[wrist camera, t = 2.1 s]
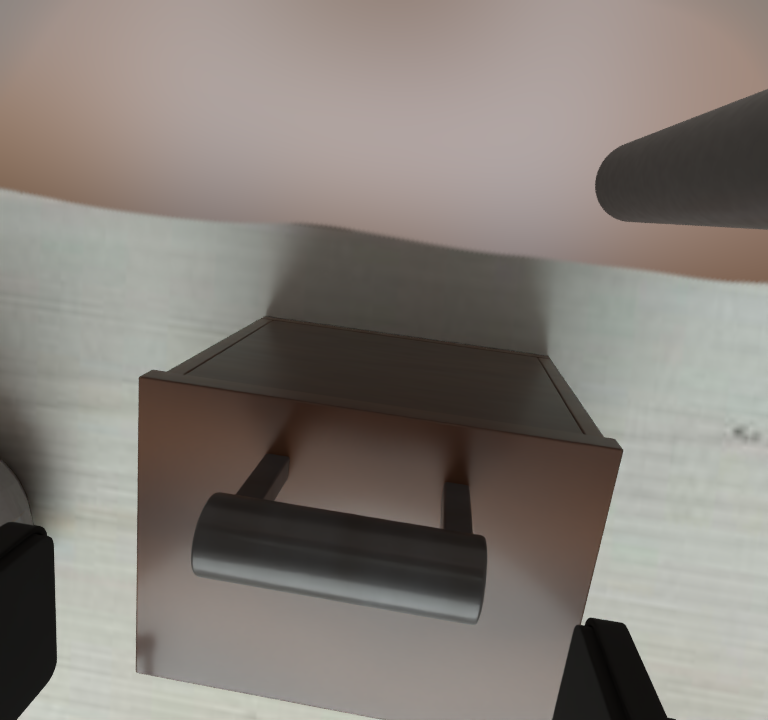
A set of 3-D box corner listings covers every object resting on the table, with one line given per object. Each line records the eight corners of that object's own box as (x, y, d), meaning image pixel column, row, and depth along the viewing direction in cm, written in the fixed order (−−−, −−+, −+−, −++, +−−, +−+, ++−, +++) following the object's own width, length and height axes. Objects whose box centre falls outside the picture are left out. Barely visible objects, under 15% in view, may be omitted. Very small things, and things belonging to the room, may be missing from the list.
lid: (152, 368, 17) (19, 439, 12) (615, 438, 16) (697, 548, 11) (147, 655, 19) (36, 817, 14) (546, 730, 18) (584, 933, 13)
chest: (264, 315, 27) (152, 378, 17) (548, 355, 26) (612, 447, 16) (251, 501, 30) (148, 654, 19) (511, 544, 29) (545, 728, 18)
